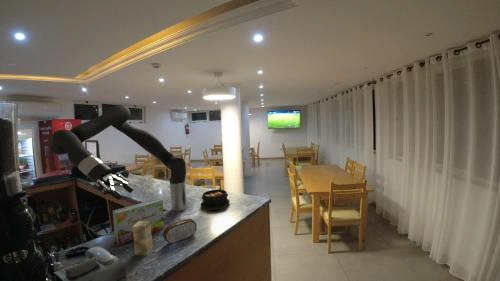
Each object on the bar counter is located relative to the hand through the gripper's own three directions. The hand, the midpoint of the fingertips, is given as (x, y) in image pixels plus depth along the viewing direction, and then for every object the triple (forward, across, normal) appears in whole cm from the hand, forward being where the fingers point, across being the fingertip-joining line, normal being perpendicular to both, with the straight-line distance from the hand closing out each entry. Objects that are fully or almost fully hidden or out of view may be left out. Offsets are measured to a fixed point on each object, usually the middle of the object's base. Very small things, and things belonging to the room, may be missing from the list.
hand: (126, 194), depth 89 cm
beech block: (+21, 0, -14) cm, 25 cm away
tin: (+30, -8, -5) cm, 32 cm away
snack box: (+15, -15, -20) cm, 30 cm away
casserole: (+38, -49, +2) cm, 62 cm away
